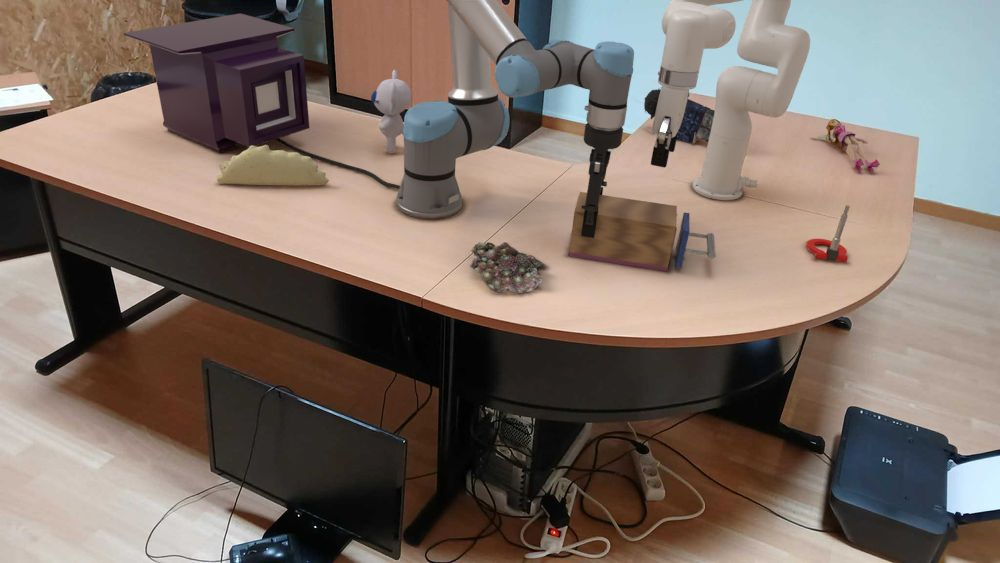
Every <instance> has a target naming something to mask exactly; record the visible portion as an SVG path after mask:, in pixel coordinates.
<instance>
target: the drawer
mask: <svg viewBox="0 0 1000 563" xmlns="http://www.w3.org/2000/svg"><path fill="white" fill-rule="evenodd" d="M681 218H682V219H681V223H680V227H679V232H678V237H677V241H676V246H675V268H677V269H682V267H683V262H684V258H685V254H686V253H687V254H693V255H700V256H706V257H707V258H708V259H710V260H713V259H715V258H716V244H715V243H716V242H715V234H714V233H713V232H709V233H707V234H702V233H696V232H691V231H690V213H689V212H686V211H685V212H683V214H682V217H681ZM677 227H678V226H676V231H675V236H674V240H673V245H672V250H671V254H670V259H669V263H671V258H672V253H673V248H674V243H675V239H676V234H677V229H678V228H677ZM689 237H694V238H699V239H706V251H704V250H698V249H697V250H696V249H692V248H687V244H688V241H689Z"/></svg>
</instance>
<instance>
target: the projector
mask: <svg viewBox="0 0 1000 563" xmlns="http://www.w3.org/2000/svg"><path fill="white" fill-rule="evenodd" d="M294 31H295V28H294V27H292V26H287V25H283V24H279V23H276V22H272V21H269V20H264V19H262V18H259V17H256V16H255V17H254V16H252V15H247V14H244V13H235V14H230V15H224V16H217V17H212V18H205V19H200V20H194V21H188V22H181V23H175V24H169V25H163V26H157V27H151V28H146V29H145V28H144V29H139V30H134V31H128V32H123V36H125V37H127V38H130V39H133V40H136V41H138V42H142V43H145V44H148V45H149V50H150V54H151V60H152V66H153V71H154V75H155V76H154V77H155V82H156V87H157V92H158V97H159V102H160V107H161V113H162V118H163V122H162V126H163V127H165V128H166V129H167V131H168V132H170V133H172V134H175V135H177V136H179V137H182V138H184V139H187V140H189V141H191V142H193V143H196V144H197V145H200V146H203V147H205V148H207V149H209V150H212V151H215V152H217V153H219V154H220V153H224V152H227V151H229V150H233V149H235V148H237V144H240V145H242V146H245V147H247V148H249V147H250V146H251V145H253V146H256V147H257V146H259V145H262V144H266V143H269V142H271V141H276V140H275V139H278V138H279V139H281V138H285V137H287V136H289V135H293V134H296V133H300V132H302V131H305V130H308V129H310V118H309V105H308V94H307V93H308V92H307V80H306V79H307V78H306V68H305V56H304V54H303V53H302V54H301V53H297V52H296V51H295V52H294V51H291V50H288V49H285V48H282V47H279V44H278V40H277V38H280V37H282V36H286V35H287V34H291V33H292V32H294Z"/></svg>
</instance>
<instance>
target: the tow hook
mask: <svg viewBox="0 0 1000 563" xmlns="http://www.w3.org/2000/svg"><path fill="white" fill-rule="evenodd" d="M850 207H851V206H850V205H849V204H846V205H845V207H844V210H843V213H842V214H841V215H840V219H839V221H838V225H837V228H836V231H835V234H834V236H833V238H832V240H829V239H825V238H811V239H808V241H807V242H806V244H805V246H806V248H807V250H808V251H810V252H811V253H813V254H814V258H815V259H821V260H826V261H833V262H836V261H838V262H844V263H847V261H848V258H849V257H848V255H847V252H848V251H847V248H846V247H844V246H843V245H842V244H840V243H841V237H842V234H843V231H844V228H845V226H846V222H847V220H848V217H849V215H848V213H849V210H850ZM816 245H824V246H827V248H826V251H824V250H822V249H821V248H820V249H819V248H818V247H817V246H816Z"/></svg>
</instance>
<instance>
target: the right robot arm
mask: <svg viewBox="0 0 1000 563" xmlns="http://www.w3.org/2000/svg"><path fill="white" fill-rule="evenodd" d="M742 1H743V0H671V1H670V2H669V3H668V5H667V7H666V8H665V11H664V12H663V15H662V19H661V29H662V32H663V34H664V35H665V40H664V46H663V51H662V57H661V62H660V67H659V71H660V73H659V75H658V79H657V83H658V85H660V86H661V87H660V89H661V91H660V95H659V99H658V103H657V108H656V113H655V117H653V122H652V128H651V134H652V135H655V134H656V138H655V142H654V145H653V148H652V153H651V159H650V165H651V166H655V167H658V168H667V165H668V161H669V157H670V156H669V155H670V152H671V153H673V152H675V150H676V145H677V135H678V134H677V132H678V130H679V128H680V126H681V123H682V119H683V116H684V112H685V108H686V103H687V99H689V97H688V93H689V94H690V90H693V89H696V87H697V84H698V79H699V74H700V68H701V64H702V59H703V54H704V50H707V49H708V50H709V49H711V50H712V49H713V50H714V49H721V48H723V47H724V46H725V45H727V44H728V43H729V42H730V41H731V40H732V38H733V36H734V34H735V31H736V28H737V23H736V18H735V16H734V14H732V12H730V11H729V10H727V9H724V8H721V7H715V5H716V6H717V5H725V4H732V3H738V2H742ZM791 2H792V0H751V4H750V7H749V9H748V12H747V15H746V18H745V21H744V23H743V27H742V30H741V33H740V36H739V39H738V42H737V46H736V47H737V48H736V52H737V53H736V54H737V55H738V57H739V58H740V59H742V60H744V61H747V62H750V63H753V64H757V65H761V66H765V67H770V68H774V69H776V70H777V74H776V73H772V72H768V71H763V70H761V69H755V68H751V67H747V66H742V65H731V66H728V67H726V68H725V69H723V70H722V71H721V73H720V74H719V75H718V77H717V78H718V79H717V82H716V88H715V105H714V111H715V112H714V118H713V123H712V127H711V132H710V137H709V141H708V142H707V146H706V150H705V155H704V159H703V164H702V169H701V173H700V176H699V177H697V178H695V179H694V180H693V181H692V185H691V186H692V189H693V190H694V192H696V193H697V194H699V195H700V196H702V197H705V198H709V199H711V200H712V199H713V200H718V201H734V200H737V199H739V198H741V197H742V196H743V190H744V188H757V186H758V180H757V179H750V176H742V175H741V174H742V170H743V166H744V162H745V157H746V154H747V150H748V146H749V142H750V139H751V136H752V135H751V134H752V129H753V126H752V125H753V124H752V119H751V116H750V113H753V114H757V115H760V116H765V117H769V118H779V117H782V116H783V115H784V114H785V113H786V112H787V111H788V109H789V107H790V105H791V102H792V99H793V97H794V94H795V93H796V92H795V91H796V89H797V86H798V83H799V80H800V78H801V75H802V73H803V70H804V67H805V65H806V62H807V59H808V56H809V52H810V49H811V48H810V47H811V37H810V34H809V32H808V31H806V30H805V29H803V28H802V27H797V26H792V25H787V24H785V22H786V19H787V16H788V13H789V10H790V8H791Z"/></svg>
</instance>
